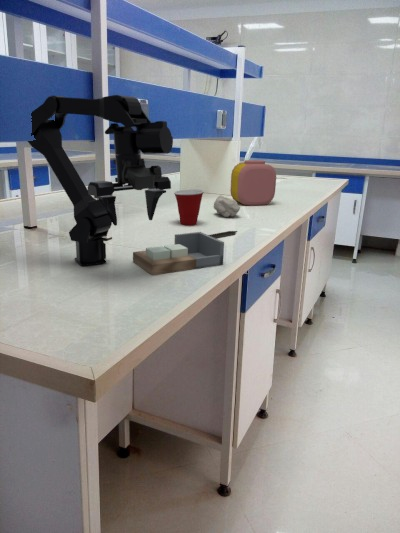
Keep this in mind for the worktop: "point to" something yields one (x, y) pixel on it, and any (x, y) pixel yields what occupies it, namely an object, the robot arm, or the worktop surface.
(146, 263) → the walnut ledge
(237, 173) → the alarm clock
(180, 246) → the tile
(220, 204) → the fossil replica
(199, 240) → the box
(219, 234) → the knife
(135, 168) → the robot arm
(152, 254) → the tile
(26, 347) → the worktop surface
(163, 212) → the worktop surface
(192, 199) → the plastic cup
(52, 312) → the worktop surface
